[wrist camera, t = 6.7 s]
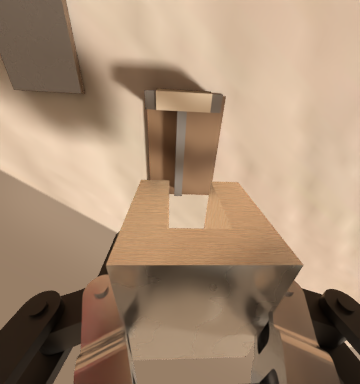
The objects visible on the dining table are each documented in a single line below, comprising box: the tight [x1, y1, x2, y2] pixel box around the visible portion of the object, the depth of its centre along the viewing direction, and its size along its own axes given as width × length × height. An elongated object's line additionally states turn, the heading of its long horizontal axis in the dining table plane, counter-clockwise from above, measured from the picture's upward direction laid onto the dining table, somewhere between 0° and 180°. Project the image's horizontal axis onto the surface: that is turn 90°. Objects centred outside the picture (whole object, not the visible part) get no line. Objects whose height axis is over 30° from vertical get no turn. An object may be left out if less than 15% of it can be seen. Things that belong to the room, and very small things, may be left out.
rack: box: [145, 88, 226, 196], centre depth 20 cm, size 13×9×5 cm
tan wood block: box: [106, 180, 303, 360], centre depth 9 cm, size 7×6×6 cm
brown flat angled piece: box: [0, 0, 85, 94], centre depth 16 cm, size 8×7×1 cm
